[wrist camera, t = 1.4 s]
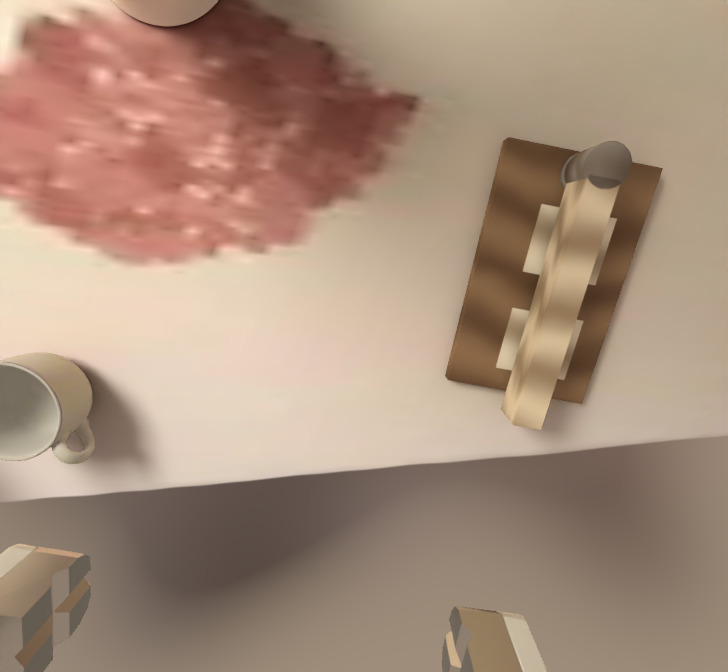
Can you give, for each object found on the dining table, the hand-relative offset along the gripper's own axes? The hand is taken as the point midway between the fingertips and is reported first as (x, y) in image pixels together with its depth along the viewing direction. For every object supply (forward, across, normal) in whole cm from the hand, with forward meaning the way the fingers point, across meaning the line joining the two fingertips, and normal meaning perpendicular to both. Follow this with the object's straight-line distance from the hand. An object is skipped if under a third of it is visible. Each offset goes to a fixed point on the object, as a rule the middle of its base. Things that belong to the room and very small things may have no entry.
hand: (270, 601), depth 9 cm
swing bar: (+35, -21, -6) cm, 41 cm away
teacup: (+38, +32, +15) cm, 52 cm away
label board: (+38, -21, -7) cm, 44 cm away
